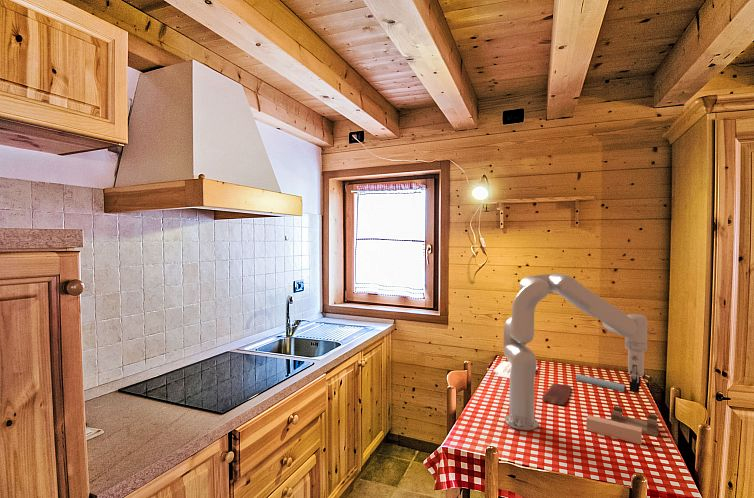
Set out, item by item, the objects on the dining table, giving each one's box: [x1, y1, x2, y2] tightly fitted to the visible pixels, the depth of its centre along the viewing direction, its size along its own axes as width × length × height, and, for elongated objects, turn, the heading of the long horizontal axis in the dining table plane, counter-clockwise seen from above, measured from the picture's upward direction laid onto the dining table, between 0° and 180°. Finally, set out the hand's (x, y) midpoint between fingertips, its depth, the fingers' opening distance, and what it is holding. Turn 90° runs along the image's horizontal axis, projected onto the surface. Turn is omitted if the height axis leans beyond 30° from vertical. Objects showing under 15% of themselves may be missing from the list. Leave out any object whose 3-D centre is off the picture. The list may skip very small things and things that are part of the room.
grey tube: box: [575, 373, 627, 393], centre depth 202 cm, size 23×7×3 cm, turn 45°
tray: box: [493, 360, 539, 379], centre depth 224 cm, size 20×28×4 cm
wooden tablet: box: [542, 383, 572, 406], centre depth 190 cm, size 27×10×2 cm, turn 145°
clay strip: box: [585, 414, 643, 445], centre depth 152 cm, size 4×18×5 cm, turn 54°
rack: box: [610, 405, 659, 437], centre depth 159 cm, size 10×16×4 cm, turn 53°
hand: (635, 388), depth 159 cm, fingers open, 7 cm apart
